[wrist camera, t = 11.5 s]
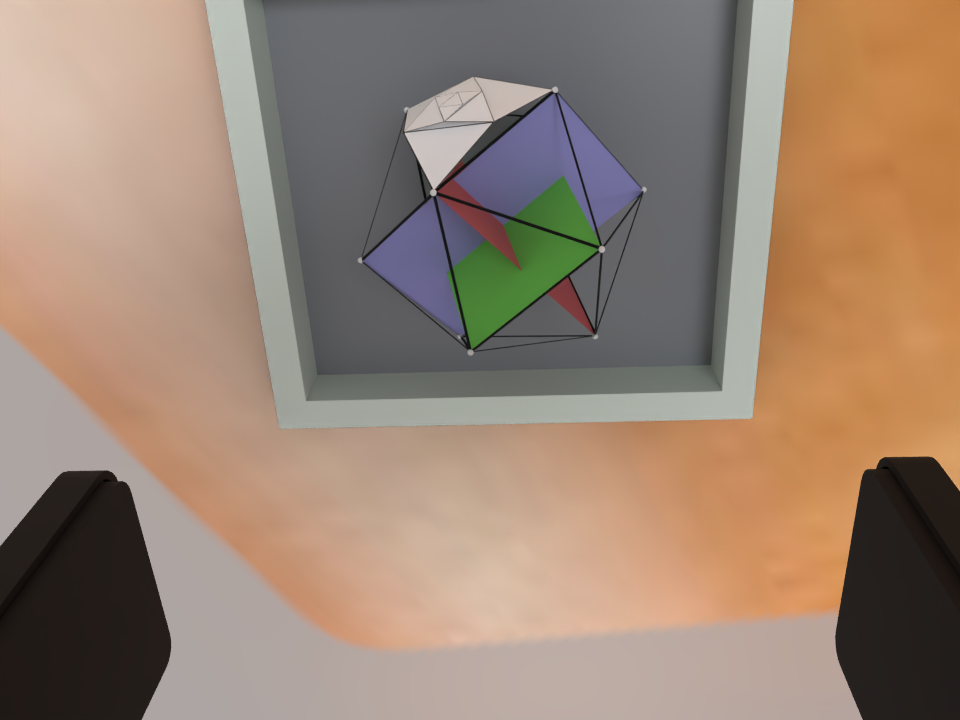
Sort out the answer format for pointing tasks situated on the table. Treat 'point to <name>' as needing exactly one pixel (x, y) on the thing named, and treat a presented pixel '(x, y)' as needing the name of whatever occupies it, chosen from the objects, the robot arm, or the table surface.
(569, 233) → the geometric puzzle
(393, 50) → the shallow square tray
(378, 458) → the table surface
